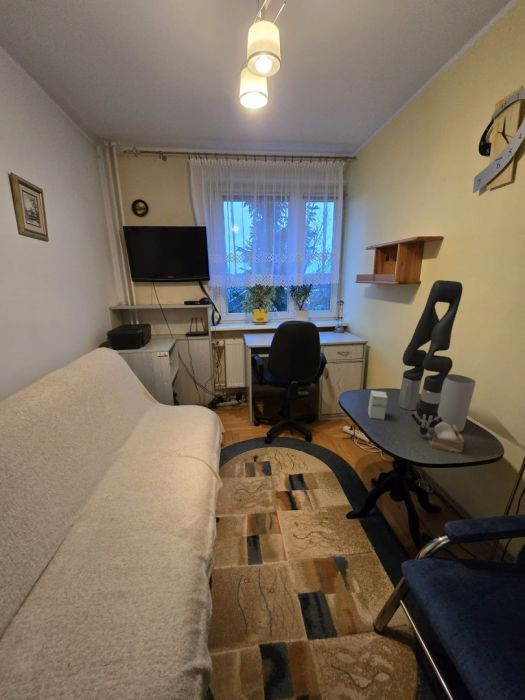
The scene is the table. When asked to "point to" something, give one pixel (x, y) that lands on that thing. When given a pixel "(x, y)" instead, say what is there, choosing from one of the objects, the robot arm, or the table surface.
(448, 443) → the oak cradle
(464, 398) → the cylinder vase
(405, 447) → the table surface
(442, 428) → the paper roll
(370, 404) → the supplement box
